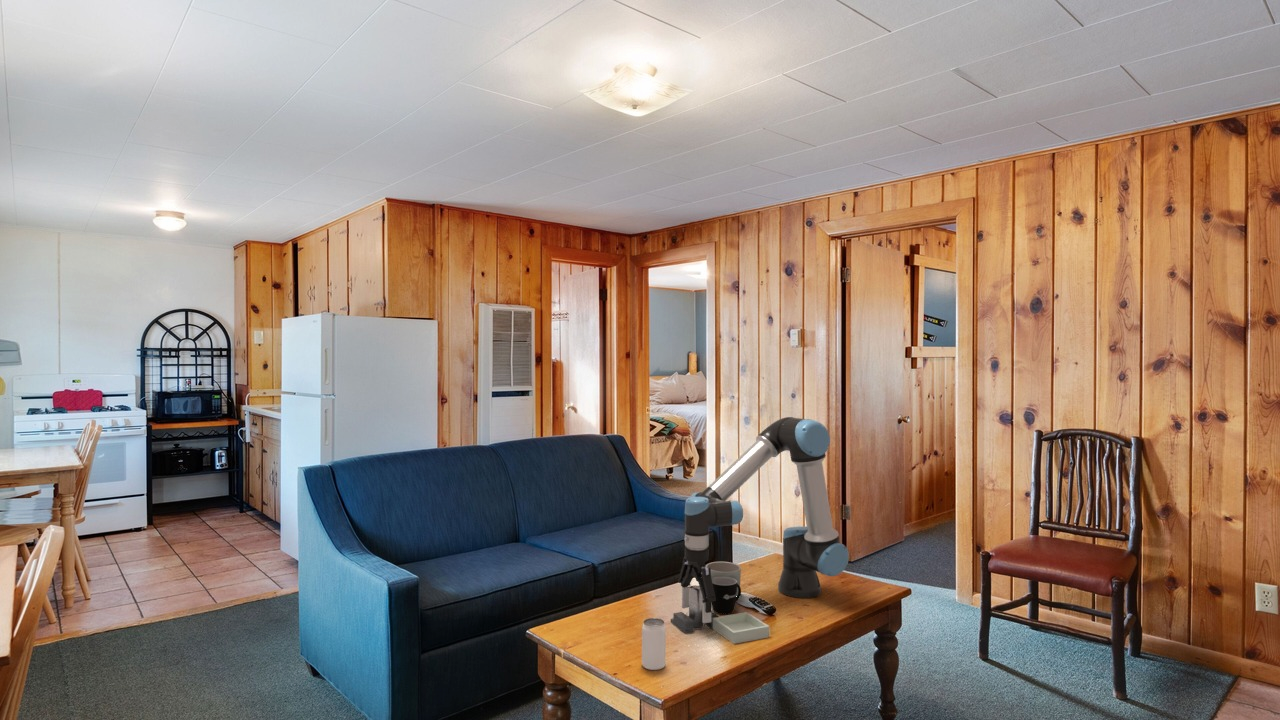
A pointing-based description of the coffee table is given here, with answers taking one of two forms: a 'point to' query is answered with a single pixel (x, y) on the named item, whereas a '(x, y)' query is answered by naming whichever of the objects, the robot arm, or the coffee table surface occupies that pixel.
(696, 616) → the pin
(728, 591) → the mug
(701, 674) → the coffee table surface
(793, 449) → the robot arm
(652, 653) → the can
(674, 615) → the hitch clevis
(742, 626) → the tray
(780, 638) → the coffee table surface
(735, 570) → the planter
